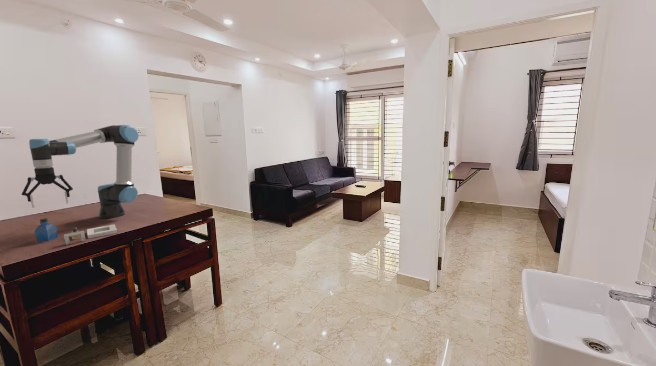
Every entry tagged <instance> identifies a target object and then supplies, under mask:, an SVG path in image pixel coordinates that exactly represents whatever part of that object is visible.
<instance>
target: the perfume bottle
mask: <svg viewBox="0 0 656 366" xmlns="http://www.w3.org/2000/svg"><path fill="white" fill-rule="evenodd" d="M34 235H35V239H36V243H38V242H50V241H53V240H55V239H58V238H59V234H58V228H57V226H56V225H54V224H53V223H49V220H48V218H46V217H45V218H41V219H39V225H37V227H36V228H35V230H34Z"/></svg>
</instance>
